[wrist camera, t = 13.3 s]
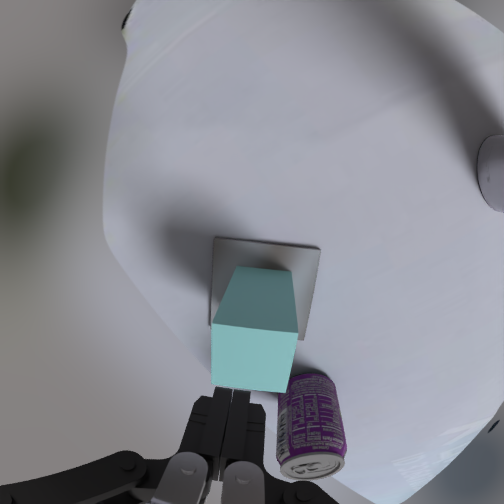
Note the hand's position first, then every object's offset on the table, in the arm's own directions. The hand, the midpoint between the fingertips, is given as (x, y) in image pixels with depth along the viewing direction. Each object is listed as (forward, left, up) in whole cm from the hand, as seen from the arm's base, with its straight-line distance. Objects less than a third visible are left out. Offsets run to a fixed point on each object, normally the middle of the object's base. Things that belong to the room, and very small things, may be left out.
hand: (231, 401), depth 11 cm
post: (-1, +2, -17) cm, 17 cm away
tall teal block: (-1, +2, -16) cm, 16 cm away
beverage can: (-8, +15, -17) cm, 24 cm away
